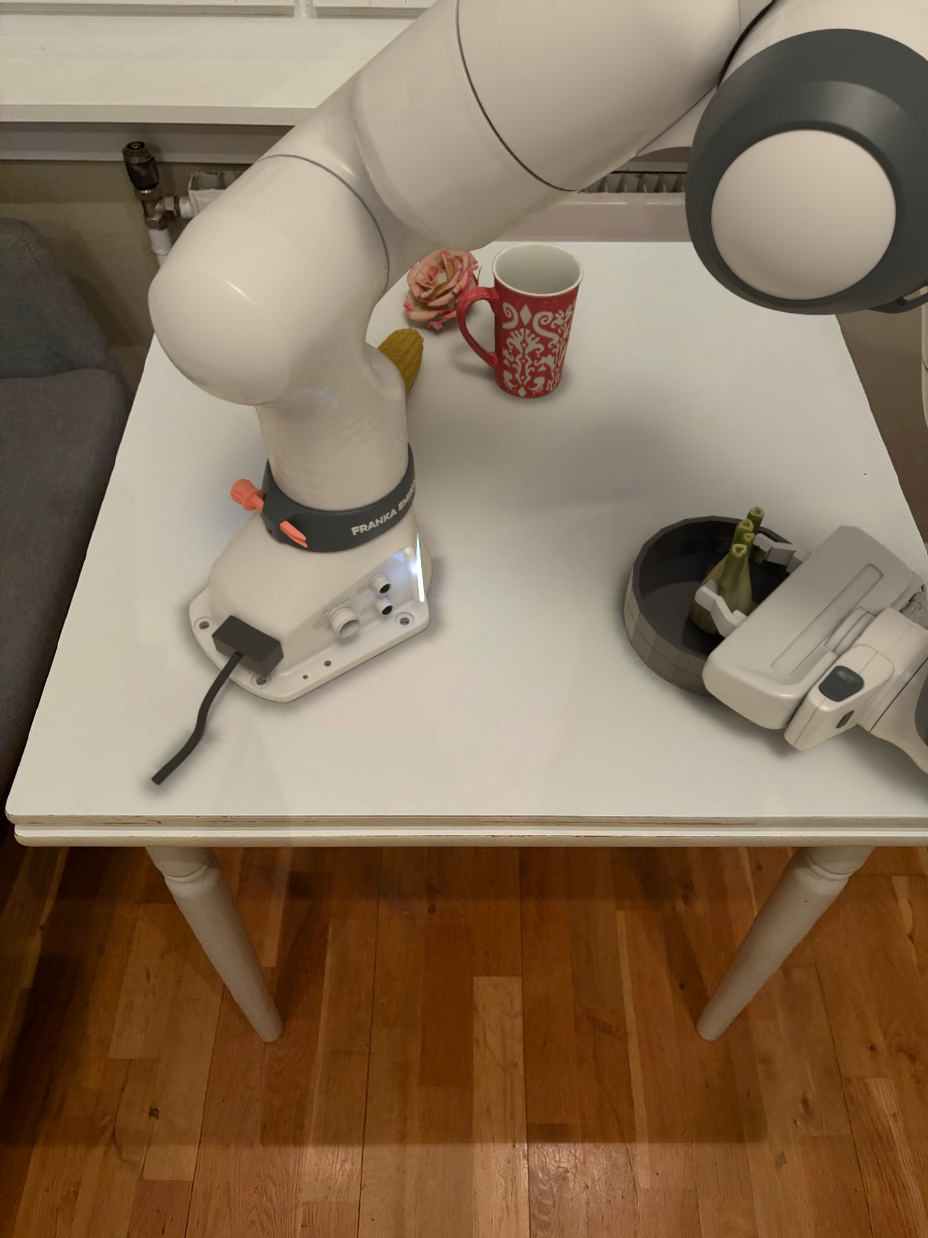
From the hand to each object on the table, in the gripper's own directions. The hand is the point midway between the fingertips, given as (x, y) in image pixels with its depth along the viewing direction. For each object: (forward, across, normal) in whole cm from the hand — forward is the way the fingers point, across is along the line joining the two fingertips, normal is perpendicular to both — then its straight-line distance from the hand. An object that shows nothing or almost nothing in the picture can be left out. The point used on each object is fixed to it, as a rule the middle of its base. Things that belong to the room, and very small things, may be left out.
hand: (726, 565), depth 79 cm
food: (+40, +4, +7) cm, 41 cm away
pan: (-1, 0, +7) cm, 7 cm away
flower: (+47, -13, +7) cm, 49 cm away
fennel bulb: (-1, 0, +7) cm, 7 cm away
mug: (+34, -11, +7) cm, 37 cm away
